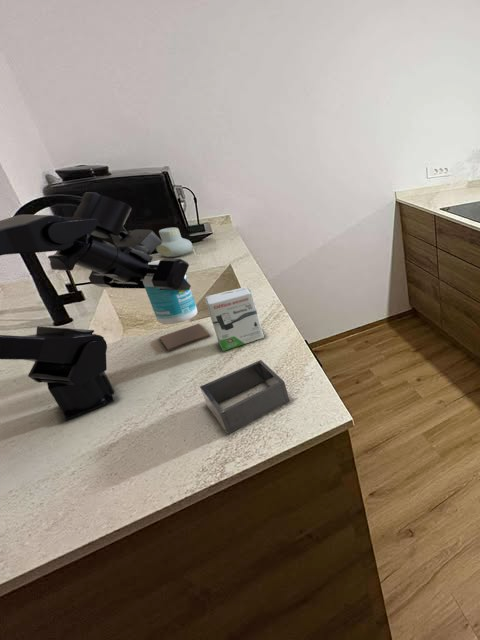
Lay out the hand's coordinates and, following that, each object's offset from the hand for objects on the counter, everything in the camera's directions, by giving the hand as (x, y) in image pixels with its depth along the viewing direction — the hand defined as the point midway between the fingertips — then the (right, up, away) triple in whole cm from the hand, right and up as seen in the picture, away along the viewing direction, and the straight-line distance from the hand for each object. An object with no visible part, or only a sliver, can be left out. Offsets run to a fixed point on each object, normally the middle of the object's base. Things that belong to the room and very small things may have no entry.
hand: (174, 287), depth 84 cm
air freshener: (-47, +11, +59) cm, 76 cm away
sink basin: (+27, -21, -16) cm, 38 cm away
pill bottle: (0, -7, +2) cm, 7 cm away
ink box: (+14, -13, +3) cm, 19 cm away
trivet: (-1, -12, +4) cm, 13 cm away
